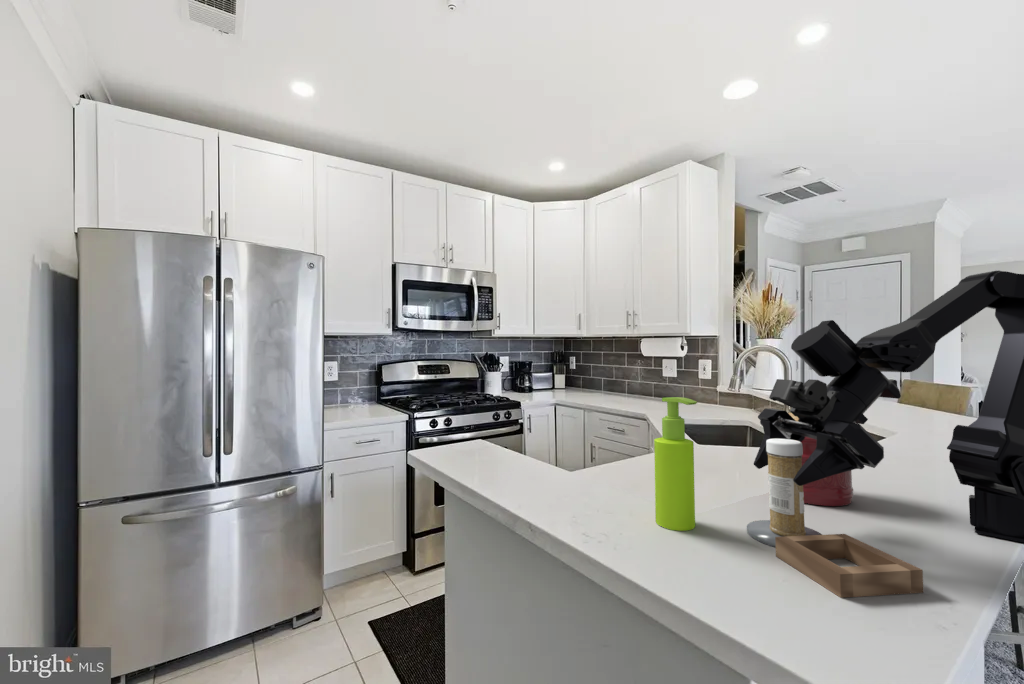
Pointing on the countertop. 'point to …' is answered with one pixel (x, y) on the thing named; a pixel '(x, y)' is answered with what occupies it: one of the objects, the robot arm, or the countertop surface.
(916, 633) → the countertop surface
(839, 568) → the walnut pocket block
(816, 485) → the canister
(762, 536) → the slate coaster
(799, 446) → the sprinkles bottle
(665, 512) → the soap dispenser
